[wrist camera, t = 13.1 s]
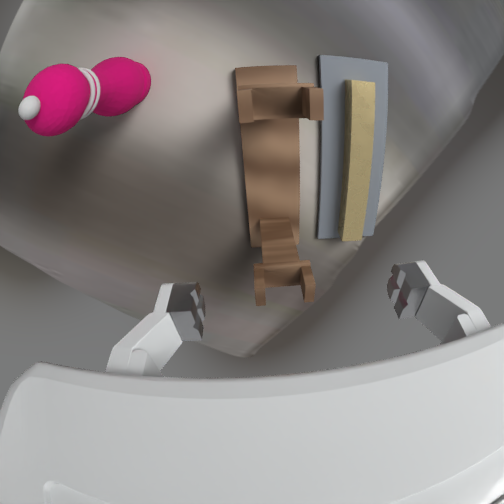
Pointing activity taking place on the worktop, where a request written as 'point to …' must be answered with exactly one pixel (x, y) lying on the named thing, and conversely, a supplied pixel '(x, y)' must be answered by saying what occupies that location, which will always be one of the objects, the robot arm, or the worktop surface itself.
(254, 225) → the stand
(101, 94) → the pepper mill
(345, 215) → the brass rail
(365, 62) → the slate mat
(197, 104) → the worktop surface
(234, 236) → the worktop surface
